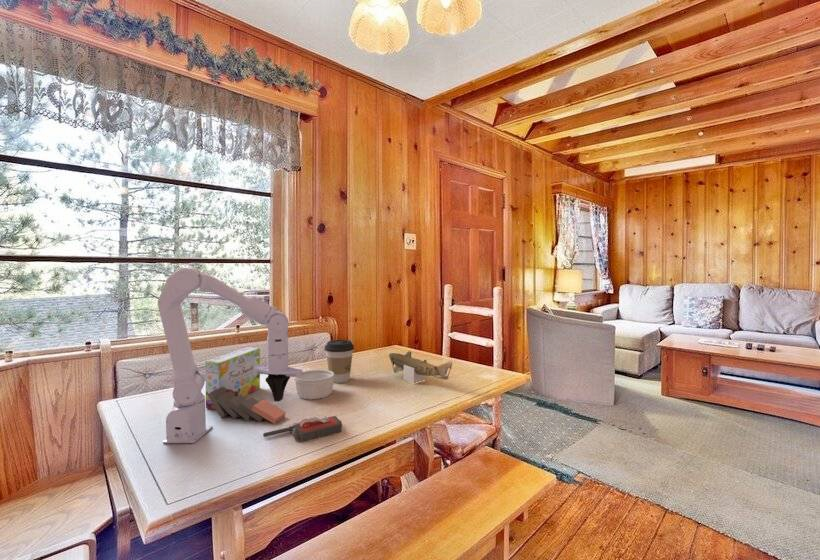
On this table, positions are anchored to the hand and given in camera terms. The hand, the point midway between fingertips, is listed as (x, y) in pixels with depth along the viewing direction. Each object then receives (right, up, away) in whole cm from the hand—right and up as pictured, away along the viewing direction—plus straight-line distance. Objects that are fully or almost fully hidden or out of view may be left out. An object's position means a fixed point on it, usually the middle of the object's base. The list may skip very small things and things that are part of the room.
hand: (278, 400), depth 109 cm
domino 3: (-8, -5, +2) cm, 10 cm away
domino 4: (-4, -5, +1) cm, 7 cm away
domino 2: (-12, -5, +3) cm, 13 cm away
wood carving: (+41, -5, +35) cm, 54 cm away
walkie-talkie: (+10, -7, -8) cm, 15 cm away
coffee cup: (+11, -4, +37) cm, 39 cm away
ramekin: (+5, -5, +22) cm, 23 cm away
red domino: (+1, -5, 0) cm, 5 cm away
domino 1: (-16, -5, +4) cm, 18 cm away
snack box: (-21, -5, +19) cm, 28 cm away
